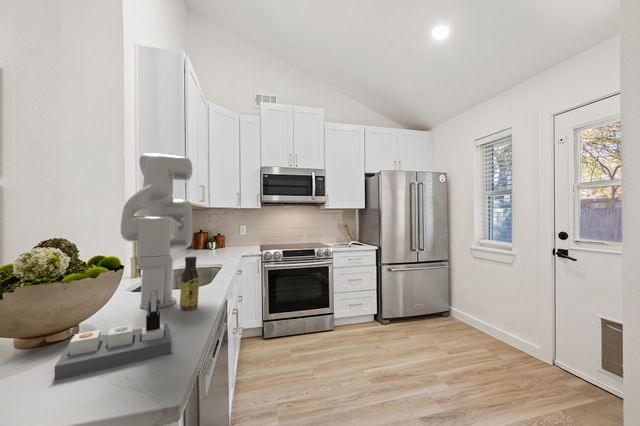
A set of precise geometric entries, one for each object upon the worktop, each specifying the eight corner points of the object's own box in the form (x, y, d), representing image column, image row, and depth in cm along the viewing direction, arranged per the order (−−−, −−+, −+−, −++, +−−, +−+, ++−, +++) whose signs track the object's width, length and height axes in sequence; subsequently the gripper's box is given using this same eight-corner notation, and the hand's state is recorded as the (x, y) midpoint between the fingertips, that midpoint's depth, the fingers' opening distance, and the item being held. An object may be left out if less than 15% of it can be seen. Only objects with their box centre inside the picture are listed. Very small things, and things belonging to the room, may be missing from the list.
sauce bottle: (190, 312, 100) (191, 258, 100) (176, 310, 101) (177, 257, 101) (201, 306, 106) (202, 256, 106) (188, 305, 107) (188, 255, 108)
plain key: (110, 343, 70) (110, 327, 70) (133, 339, 73) (133, 324, 73) (107, 351, 66) (107, 335, 66) (132, 346, 69) (132, 330, 69)
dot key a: (142, 342, 74) (142, 327, 74) (163, 338, 77) (163, 323, 77) (141, 349, 70) (141, 334, 70) (163, 345, 73) (163, 330, 73)
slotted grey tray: (71, 352, 70) (71, 340, 70) (168, 333, 81) (168, 323, 81) (54, 380, 58) (54, 366, 58) (170, 353, 69) (171, 341, 70)
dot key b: (74, 350, 67) (75, 333, 67) (100, 345, 69) (100, 329, 69) (69, 359, 62) (69, 341, 63) (97, 353, 65) (97, 336, 65)
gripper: (138, 259, 78) (137, 322, 78) (136, 267, 65) (134, 343, 65) (168, 257, 82) (167, 317, 82) (171, 264, 69) (170, 336, 69)
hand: (153, 328), depth 73 cm, fingers closed
